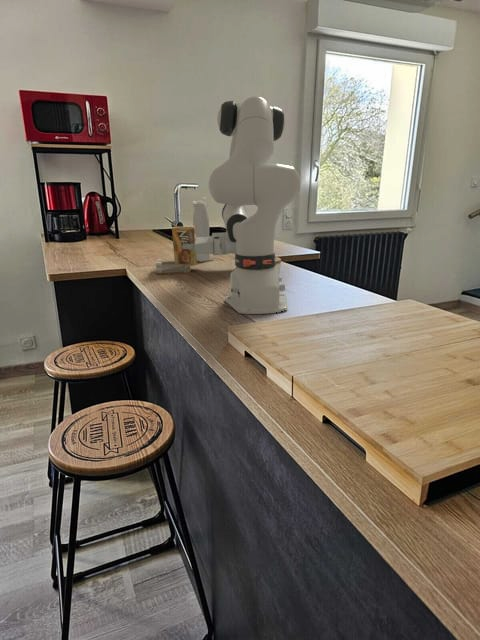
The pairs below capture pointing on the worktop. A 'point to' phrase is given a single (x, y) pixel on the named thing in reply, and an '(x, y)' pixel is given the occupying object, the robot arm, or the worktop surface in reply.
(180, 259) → the candy box
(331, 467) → the worktop surface
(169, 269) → the channel
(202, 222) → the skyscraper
